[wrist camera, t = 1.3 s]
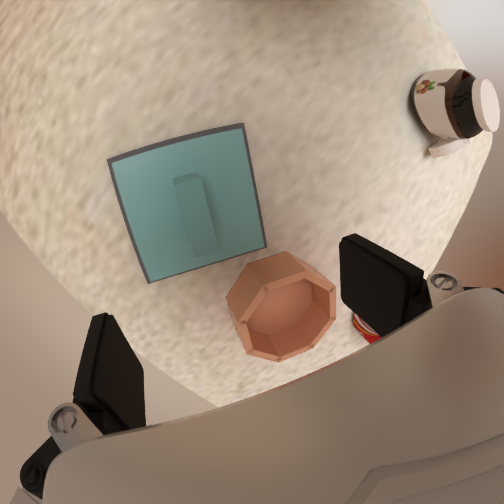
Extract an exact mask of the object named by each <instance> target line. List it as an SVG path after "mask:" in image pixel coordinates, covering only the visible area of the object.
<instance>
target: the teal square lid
mask: <svg viewBox="0 0 504 504" xmlns="http://www.w3.org/2000/svg"><path fill="white" fill-rule="evenodd" d="M112 167H113V171H114V175H115V178H116V182H117V185H118V189H119V192H120V196H121V199H122V202H123V206H124V209H125V212H126V215H127V218H128V221H129V224H130V227H131V230H132V233H133V236H134V239H135V242H136V245H137V248H138V250H139V253H140V256H141V258H142V261H143V264H144V266H145V269H146V272H147V274H148V277H149V279H150V282H152V281H155V280H159V279H162V278H165V277H168V276H172V275H175V274H178V273H181V272H185V271H188V270H191V269H194V268H198V267H201V266H204V265H207V264H211V263H214V262H217V261H220V260H224V259H227V258H230V257H233V256H237V255H240V254H243V253H246V252H250V251H253V250H256V249H259V248H263V247H264V242H263V236H262V231H261V225H260V220H259V215H258V209H257V204H256V199H255V193H254V188H253V183H252V178H251V173H250V167H249V162H248V157H247V152H246V147H245V142H244V137H243V132H242V128H240V129H235V130H230V131H225V132H220V133H216V134H211V135H207V136H202V137H198V138H194V139H190V140H186V141H182V142H178V143H175V144H171V145H167V146H164V147H160V148H157V149H154V150H150V151H147V152H144V153H141V154H137V155H134V156H131V157H128V158H125V159H122V160H119V161H117V162H114V163H112Z"/></svg>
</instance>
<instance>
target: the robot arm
mask: <svg viewBox="0 0 504 504" xmlns="http://www.w3.org/2000/svg"><path fill="white" fill-rule="evenodd" d="M339 255H340V282H341V299H342V301H343V302H344V304H345V305H347V306H348V307H349V308H350V309H351V310H352V311H353V312H354V313H355V314H357V315H358V316H359V317H360V318H361V319H362V320H363V321H364V322H365V323H366V324H367V325H369V326H370V327H371V328H372V329H373V330H374V331H375V332H376V333H377V334H378V335H379V336H380V337H382V338H380V339H378V340H377V341H375V342H373V343H371V344H369V345H367V346H366V347H364V348H362V349H360V350H358V351H356V352H354V353H352V354H350V355H348V356H346V357H344V358H342V359H340V360H338V361H336V362H334V363H332V364H330V365H328V366H325V367H323V368H321V369H319V370H317V371H314V372H312V373H310V374H308V375H305V376H303V377H301V378H298V379H296V380H294V381H291V382H289V383H286V384H284V385H281V386H279V387H276V388H274V389H271V390H268V391H266V392H263V393H260V394H258V395H255V396H252V397H249V398H246V399H243V400H240V401H238V402H235V403H231V404H228V405H225V406H222V407H219V408H216V409H212V410H209V411H205V412H202V413H198V414H195V415H191V416H187V417H183V418H179V419H175V420H172V421H167V422H163V423H159V424H155V425H150V426H146V418H145V400H144V372H143V368H142V365H141V363H140V362H139V360H138V358H137V357H136V355H135V353H134V352H133V350H132V348H131V347H130V345H129V343H128V341H127V340H126V338H125V336H124V334H123V333H122V331H121V329H120V327H119V325H118V323H117V322H116V320H115V318H114V316H113V315H109V314H108V313H106V312H105V313H102V314H99V315H95V316H93V317H92V320H91V323H90V327H89V330H88V334H87V337H86V341H85V344H84V349H83V352H82V356H81V360H80V364H79V368H78V373H77V377H76V382H75V387H74V392H73V396H74V398H73V403H64V404H61V405H59V406H58V407H56V409H55V410H54V411H53V412H52V413H51V415H50V417H49V420H48V429H49V432H50V433H51V435H52V436H51V437H50V438H49V439H48V440H47V441H46V442H45V443H44V444H43V445H42V446H41V447H40V448H39V449H38V450H37V451H36V452H35V453H34V454H33V455H32V456H31V457H30V458H29V459H28V460H27V461H26V462H25V463H24V465H23V466H22V468H21V471H20V480H21V483H22V486H23V488H22V489H21V488H20V487H18V488H17V490H16V493H15V495H14V497H13V499H12V501H11V503H10V504H504V292H503V291H502V290H501V289H499V288H480V287H463V286H462V284H461V281H460V280H459V278H458V277H456V276H455V275H453V274H451V273H448V272H441V271H438V272H433V273H431V274H430V275H428V277H427V280H425V279H424V278H423V275H424V271H423V270H422V269H420V268H418V267H416V266H415V265H413V264H411V263H409V262H408V261H406V260H404V259H402V258H401V257H399V256H397V255H395V254H393V253H392V252H390V251H388V250H386V249H384V248H382V247H381V246H379V245H377V244H375V243H373V242H371V241H369V240H367V239H365V238H364V237H362V236H360V235H358V234H355V233H354V234H351V235H348V236H345V237H343V238H342V240H341V242H340V243H339Z"/></svg>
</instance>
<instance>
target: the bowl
mask: <svg viewBox="0 0 504 504" xmlns="http://www.w3.org/2000/svg"><path fill="white" fill-rule="evenodd" d="M226 298H227V302H228V305H229V309H230V312H231V315H232V319H233V322H234V326H235V329H236V331H237V333H238V336H239V338H240V340H241V342H242V345H243V347H244V349H245V351H246V354H249V355H253V356H256V357H260V358H263V359H267V360H271V361H275V362H281V361H283V360H286V359H288V358H291V357H293V356H296V355H298V354H300V353H303V352H305V351H308V350H310V349H312V348H314V346H315V345H316V344H317V343H318V341H319V340H320V339H321V338H322V336H323V335H324V334H325V332H326V331H327V330H328V329H329V327H330V326H331V325H332V323H333V322H334V321H335V319H336V286H335V285H333V284H332V283H331V282H330V281H329V280H328V279H326V278H325V277H324V276H323V275H322V274H321V273H319V272H318V271H317V270H316V269H315V268H314V267H312V266H310V265H308V264H307V263H305V262H303V261H302V260H300V259H298V258H296V257H295V256H293V255H291V254H290V253H288V252H283V253H280V254H277V255H274V256H270V257H267V258H264V259H261V260H258V261H255V262H251V263H248V264H247V266H246V267H245V269H244V270H243V272H242V273H241V275H240V276H239V278H238V280H237V281H236V283H235V284H234V286H233V287H232V289H231V290H230V292H229V293H228V295H227V297H226Z"/></svg>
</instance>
